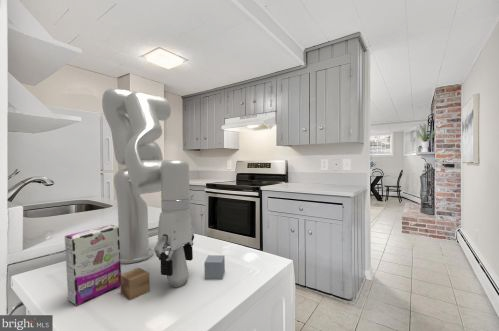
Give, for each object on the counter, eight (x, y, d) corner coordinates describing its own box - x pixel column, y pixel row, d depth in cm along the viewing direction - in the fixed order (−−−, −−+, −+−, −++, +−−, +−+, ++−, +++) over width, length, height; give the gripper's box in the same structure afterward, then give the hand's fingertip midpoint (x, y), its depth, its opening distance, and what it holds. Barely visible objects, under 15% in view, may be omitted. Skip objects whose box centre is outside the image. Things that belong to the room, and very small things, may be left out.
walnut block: (121, 294, 62) (120, 274, 62) (139, 285, 66) (139, 267, 66) (130, 300, 59) (130, 280, 59) (149, 291, 63) (149, 272, 63)
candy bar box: (112, 281, 69) (110, 224, 68) (122, 285, 66) (120, 226, 66) (66, 300, 59) (63, 234, 59) (75, 307, 57) (73, 238, 56)
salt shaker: (182, 289, 63) (181, 240, 63) (162, 287, 64) (161, 239, 64) (192, 278, 69) (191, 233, 69) (173, 277, 70) (172, 233, 70)
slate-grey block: (204, 279, 69) (204, 262, 69) (208, 271, 74) (208, 255, 74) (222, 279, 68) (221, 262, 68) (224, 271, 73) (224, 255, 73)
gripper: (181, 199, 76) (183, 253, 76) (142, 211, 59) (144, 280, 59) (203, 200, 73) (204, 256, 74) (168, 212, 57) (170, 284, 57)
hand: (177, 266), depth 66 cm, fingers open, 9 cm apart
